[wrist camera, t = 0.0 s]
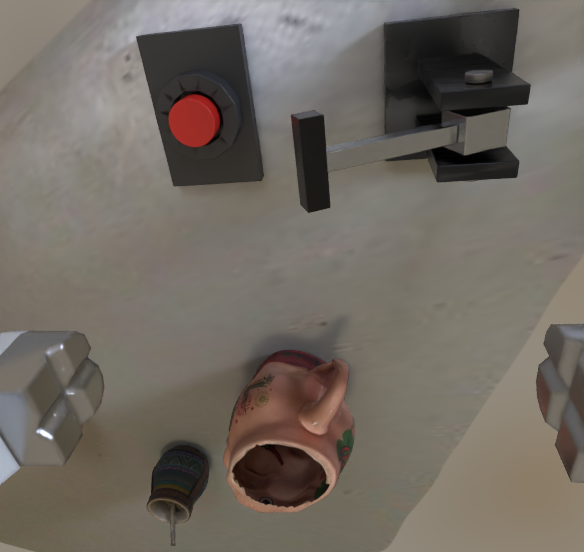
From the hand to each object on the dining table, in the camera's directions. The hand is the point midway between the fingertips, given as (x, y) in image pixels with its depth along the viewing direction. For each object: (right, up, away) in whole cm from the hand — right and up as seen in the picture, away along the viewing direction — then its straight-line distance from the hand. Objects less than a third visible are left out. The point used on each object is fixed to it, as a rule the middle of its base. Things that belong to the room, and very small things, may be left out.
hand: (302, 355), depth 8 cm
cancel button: (-8, +14, +29) cm, 33 cm away
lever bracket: (+11, +16, +28) cm, 34 cm away
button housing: (-7, +15, +31) cm, 35 cm away
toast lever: (+6, +9, +19) cm, 22 cm away
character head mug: (+1, -9, +45) cm, 46 cm away
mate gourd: (-14, -23, +56) cm, 63 cm away
